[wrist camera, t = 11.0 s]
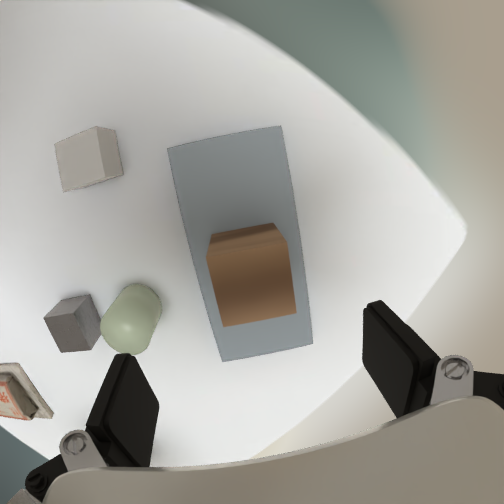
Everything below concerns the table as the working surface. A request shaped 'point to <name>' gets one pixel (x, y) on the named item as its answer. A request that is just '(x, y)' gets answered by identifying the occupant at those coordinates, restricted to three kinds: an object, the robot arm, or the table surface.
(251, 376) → the table surface
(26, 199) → the table surface
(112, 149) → the grey plastic cube
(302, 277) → the slate board
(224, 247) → the walnut block
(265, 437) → the table surface
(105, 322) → the sage plastic cylinder
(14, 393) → the packaged product
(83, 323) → the dark metal block
